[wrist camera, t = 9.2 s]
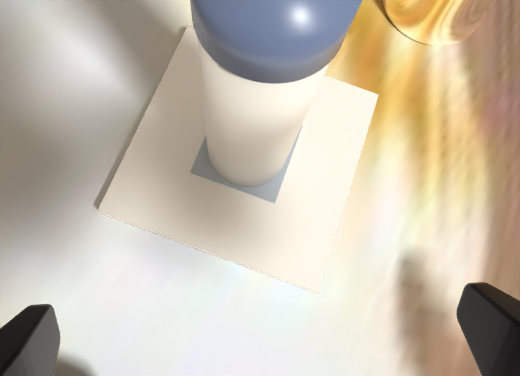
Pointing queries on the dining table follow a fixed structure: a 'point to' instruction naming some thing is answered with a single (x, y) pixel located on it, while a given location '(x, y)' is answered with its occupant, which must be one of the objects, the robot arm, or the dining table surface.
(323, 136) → the cream square base plate
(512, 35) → the dining table surface
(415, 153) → the dining table surface
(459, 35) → the beer glass
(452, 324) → the dining table surface
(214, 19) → the blue capped bottle
